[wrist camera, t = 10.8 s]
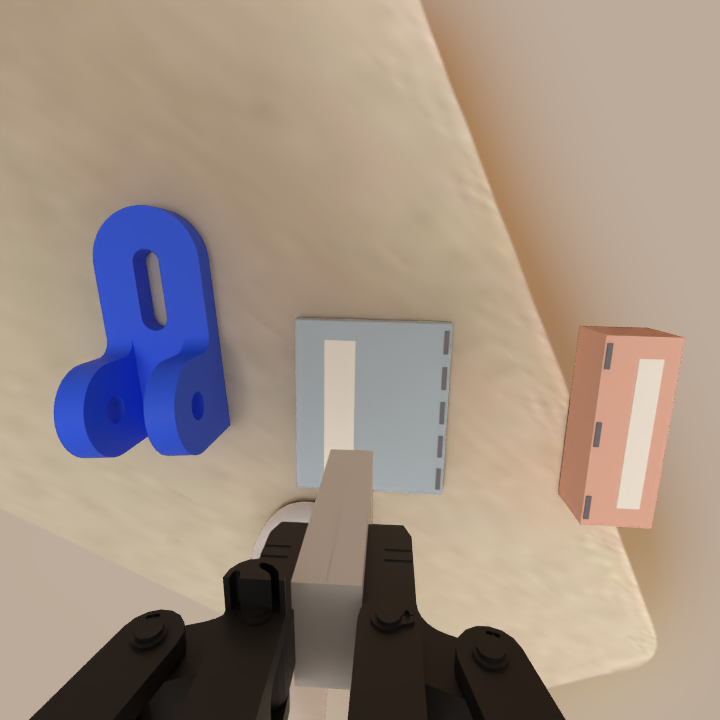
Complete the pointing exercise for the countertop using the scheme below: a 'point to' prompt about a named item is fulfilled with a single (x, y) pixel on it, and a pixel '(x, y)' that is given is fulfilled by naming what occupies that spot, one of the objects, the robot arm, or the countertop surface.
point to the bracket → (148, 346)
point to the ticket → (373, 398)
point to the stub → (619, 424)
